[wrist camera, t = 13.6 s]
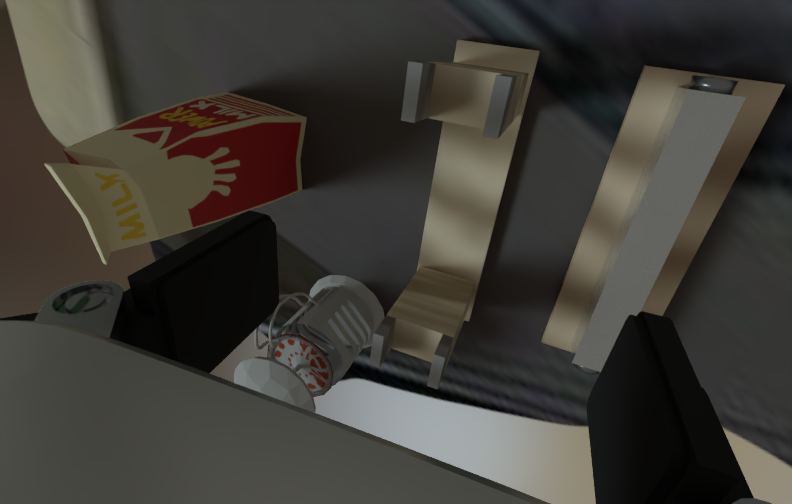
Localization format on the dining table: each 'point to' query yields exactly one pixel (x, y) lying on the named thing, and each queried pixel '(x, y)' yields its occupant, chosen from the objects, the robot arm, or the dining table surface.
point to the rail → (656, 212)
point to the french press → (302, 359)
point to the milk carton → (182, 169)
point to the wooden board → (623, 178)
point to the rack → (457, 192)
